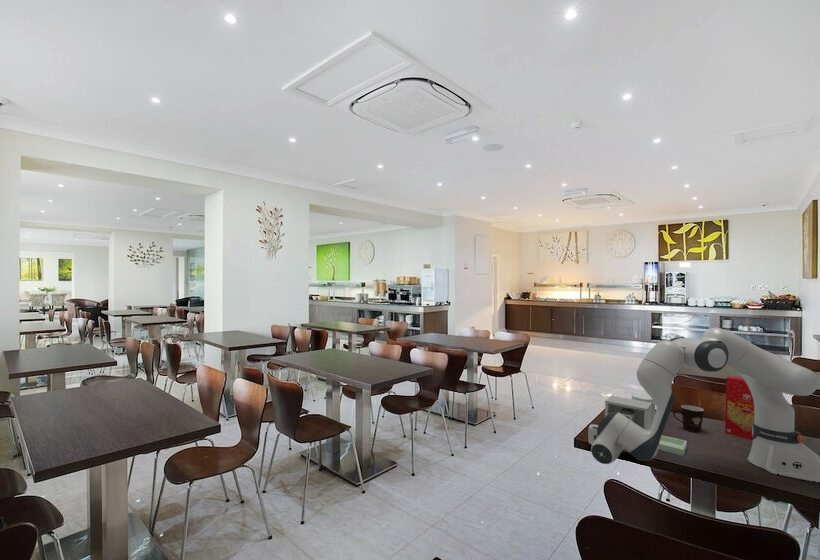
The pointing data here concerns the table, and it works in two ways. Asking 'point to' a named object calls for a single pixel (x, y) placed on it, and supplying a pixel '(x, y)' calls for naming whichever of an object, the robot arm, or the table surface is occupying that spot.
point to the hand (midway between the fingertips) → (620, 430)
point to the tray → (672, 445)
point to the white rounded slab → (646, 399)
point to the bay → (640, 408)
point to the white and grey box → (628, 414)
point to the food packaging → (739, 408)
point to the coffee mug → (691, 418)
